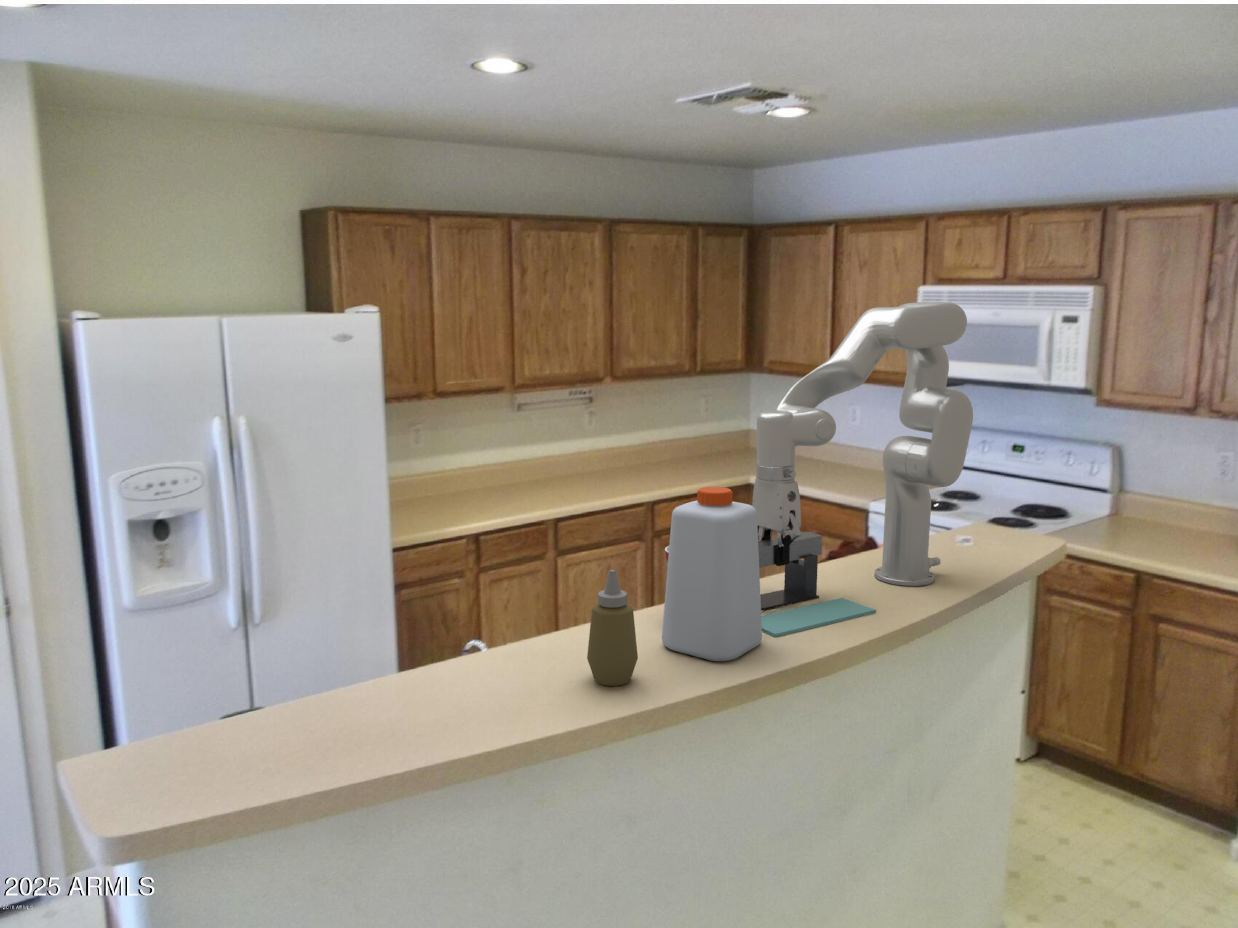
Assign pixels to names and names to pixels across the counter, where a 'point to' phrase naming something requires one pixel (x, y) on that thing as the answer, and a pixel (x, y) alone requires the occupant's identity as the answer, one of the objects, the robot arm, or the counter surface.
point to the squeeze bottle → (612, 636)
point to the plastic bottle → (713, 578)
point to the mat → (812, 616)
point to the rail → (798, 549)
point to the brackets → (794, 584)
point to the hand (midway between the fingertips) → (774, 561)
